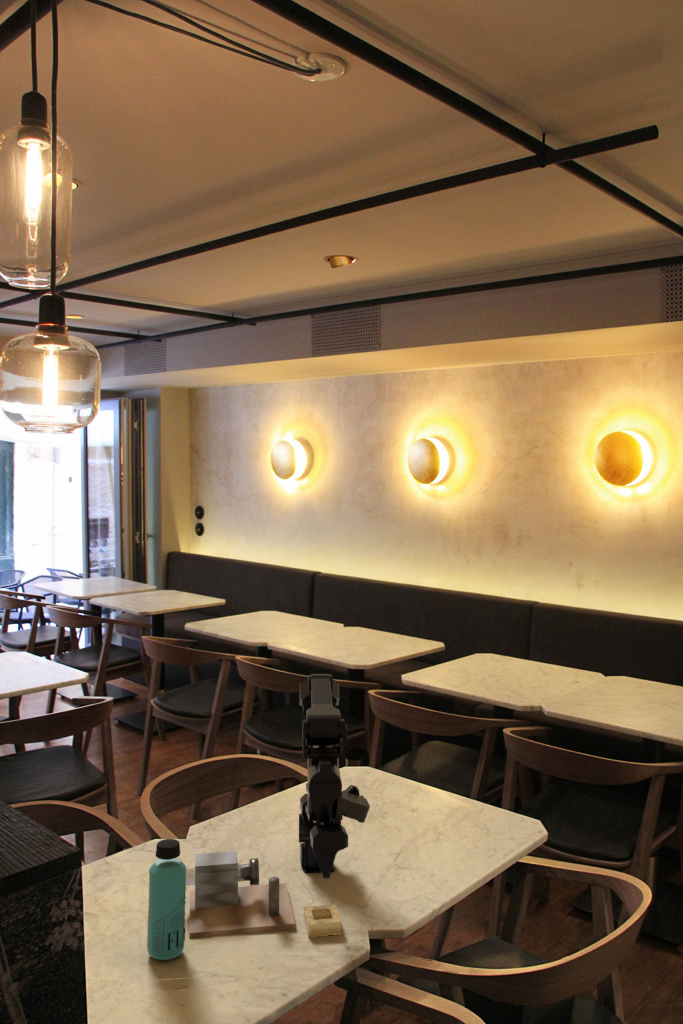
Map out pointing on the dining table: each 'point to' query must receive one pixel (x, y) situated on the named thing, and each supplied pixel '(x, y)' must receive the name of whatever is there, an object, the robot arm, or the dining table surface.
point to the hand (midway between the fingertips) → (322, 865)
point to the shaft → (244, 873)
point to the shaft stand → (234, 900)
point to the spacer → (322, 920)
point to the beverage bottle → (166, 902)
